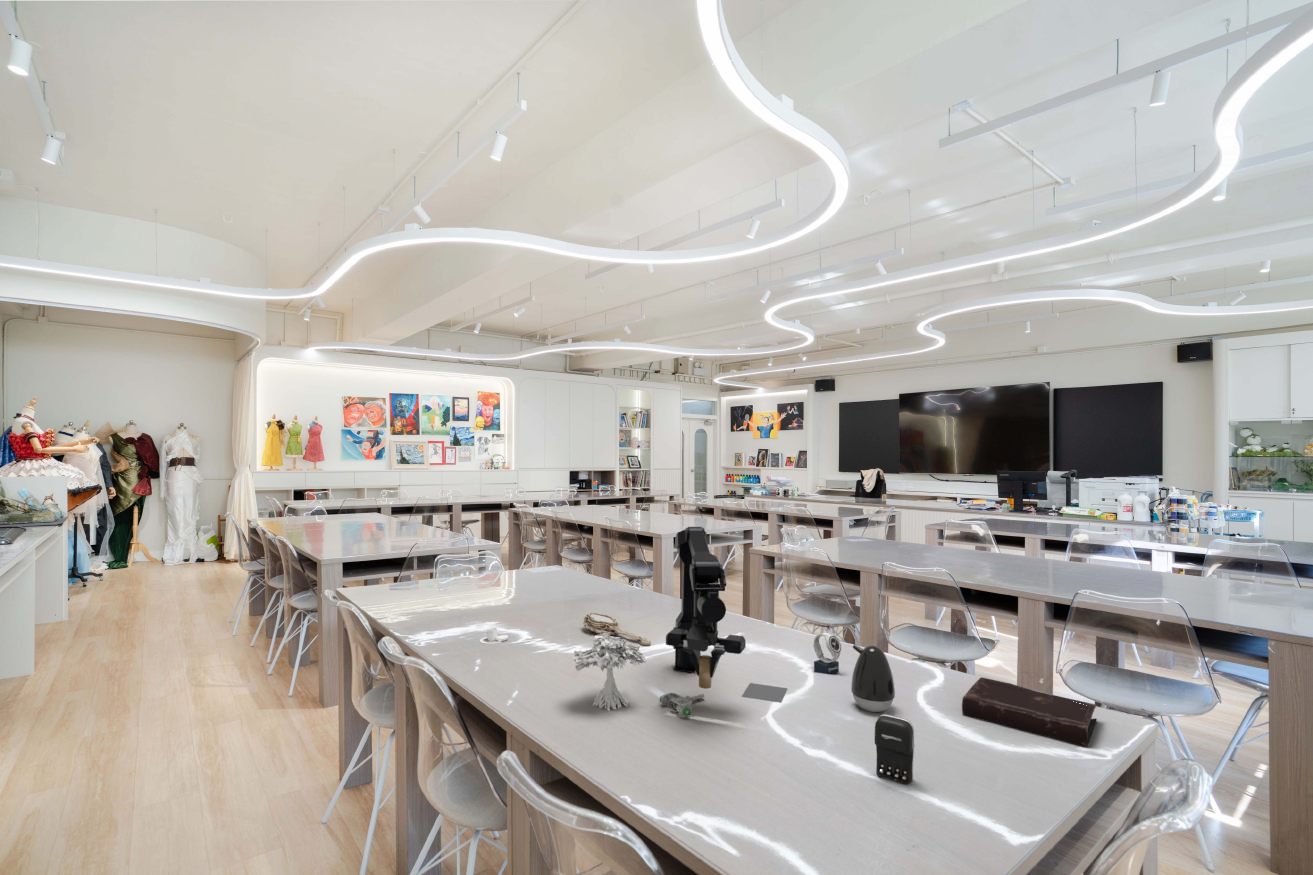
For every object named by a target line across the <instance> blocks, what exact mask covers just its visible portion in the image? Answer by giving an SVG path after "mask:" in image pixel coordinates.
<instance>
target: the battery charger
mask: <svg viewBox="0 0 1313 875" xmlns="http://www.w3.org/2000/svg"><path fill="white" fill-rule="evenodd" d="M874 745H875V747H876V748H875V749H876V768H875V769H876V775H878V776H879V777H881V778H883V779H886V780H890V781H893V782H897V783H901V784H905V785H908V784H911V782H912V781H913V780H914V759H915V758H914V757H915V756H914V755H915V754H914V753H915V728H914V725H913V723H912V722H911V721H910V720H908V719H905V718H902V717H898V716H895V715H890V714H881V715H879V717H878V718H877V719H876V721H875V724H874Z"/></svg>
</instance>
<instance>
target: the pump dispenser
mask: <svg viewBox="0 0 1313 875" xmlns="http://www.w3.org/2000/svg"><path fill="white" fill-rule="evenodd" d="M852 649H854V651H856V652H857V653H858V654H859V656H858V658H857V660H856V663H855V665H854V669H853V671H852V677H851V685H850V686H851V687H850V690H851V691H850V692H851V694H852V696H853V700H854V701H855V703H856V704H857V706H859V707H860V708H861V709H863V710H865V711H868V712H872V713H881V712H884V711H887V710H888V709H890V707H891V706H892V703H893V701H894V699H895V698H896V696H895V695H896V690H895V689H896V688H895V682H894V676H893V672H892V669H891V666H890V663H889V661H888V660H889V659H888V657H887V656H886V654H885V653H884V650H882V649H881V648H880V647H878V646H877V645H871V644H870V645H867V646H866V647H864V648H862V647H860V646H858V644H857V645H856V644H853V645H852Z"/></svg>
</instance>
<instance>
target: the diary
mask: <svg viewBox="0 0 1313 875" xmlns="http://www.w3.org/2000/svg"><path fill="white" fill-rule="evenodd" d="M1073 701H1074V702H1073ZM1076 702H1077V703H1076ZM1079 703H1081V704H1079ZM1083 704H1084V705H1083ZM1086 705H1087V706H1086ZM1097 706H1098V705H1097V704H1096V703H1095V704H1094V703H1091V702H1087V701H1081V700H1079V699H1078V700H1077V699H1073V698H1068V697H1065V696H1064V697H1063V696H1061V695H1055V694H1050V693H1046V692H1043V691H1042V692H1041V691H1037V690H1033V689H1030V688H1027V687H1024V686H1020V685H1016V684H1013V683H1009V682H1005V681H1000V680H995V679H991V678H988V677H987V678H986V677H979V679H978V680H976V681H975V683H974V684H973V685H971V687H970V688H969V689H968V691H967V692H966V693H965V694H964V695H963V696H962V702H961V711H962V716H965V717H968V718H969V717H970V718H973V719H976V720H977V719H979V720H982V721H986V722H990V723H993V724H997V725H1001V726H1004V727H1008V728H1013V729H1017V730H1019V731H1024V732H1028V733H1032V734H1035V735H1039V736H1043V737H1047V738H1051V739H1055V740H1059V741H1062V742H1066V743H1069V744H1072V745H1073V744H1074V745H1076V746H1081V747H1084V748H1089V745H1090V742H1091V739H1092V737H1093V734H1094V730H1095V728H1096V724H1097V720H1098V719H1097V718H1092V717H1093V714H1094V712H1095V709H1096V707H1097Z"/></svg>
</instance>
